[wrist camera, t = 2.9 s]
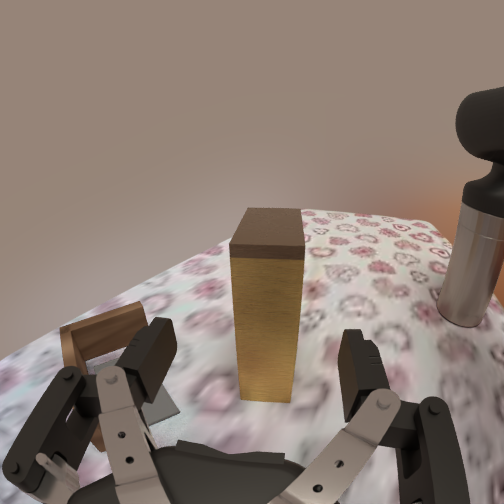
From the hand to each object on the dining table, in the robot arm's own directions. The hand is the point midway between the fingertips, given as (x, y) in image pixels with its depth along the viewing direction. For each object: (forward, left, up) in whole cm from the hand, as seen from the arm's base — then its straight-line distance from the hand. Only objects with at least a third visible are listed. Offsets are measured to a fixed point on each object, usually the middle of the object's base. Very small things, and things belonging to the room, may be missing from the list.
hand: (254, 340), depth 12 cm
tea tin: (-11, -4, -15) cm, 19 cm away
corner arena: (-2, -17, -15) cm, 23 cm away
